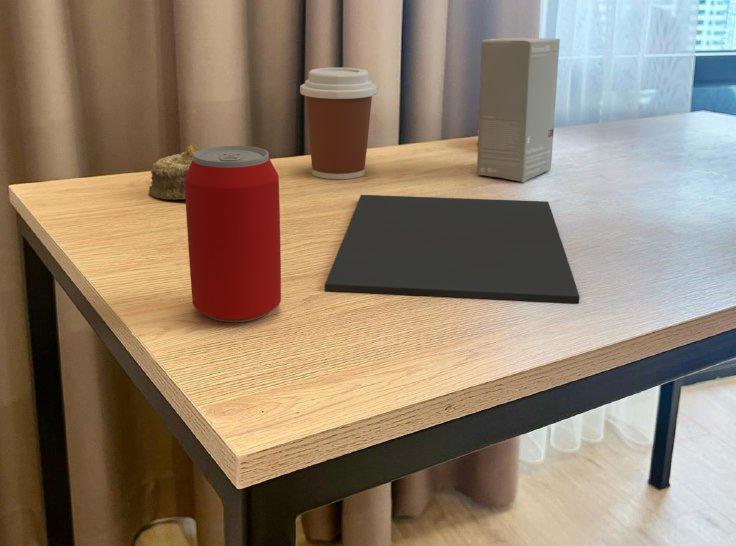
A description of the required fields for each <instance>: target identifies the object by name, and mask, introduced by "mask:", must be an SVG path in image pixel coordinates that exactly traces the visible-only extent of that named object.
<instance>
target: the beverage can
mask: <svg viewBox="0 0 736 546" xmlns="http://www.w3.org/2000/svg"><path fill="white" fill-rule="evenodd" d="M279 177H280V176H279V174H278V171H277V170H276V168H275V166H274V165H273V162H272V161H271V159H270V157H269V151H268V150H266V149H264V148H262V147H256V146H250V145H217V146H209V147H205V148H201V149H198V150H196V151H195V152H194V153H193V160H192V162H191V164H190V166H189V169H188V171H187V173H186V175H185V197H186V199H185V213H186V233H187V245H188V246H187V248H188V258H189V259H188V261H189V276H190V277H189V278H190V289H191V290H190V291H191V302H192V306H193V307H194V308H195V309H196V311H198V312H200V313H202V314H204V315H206V316H207V317H208V318H210V319H212V320H215V321H219V322H224V323H245V322H252V321H255V320H259V319H261V318H263V317H265V316H266V315H268V314H269V313H270V312H271V311H273V310H274V309H276V308H277V307H278V306H279V305H280V304H281V302H282V255H281V252H282V251H281V250H282V249H281V209H280V208H281V206H280V182H279V181H280V178H279Z"/></svg>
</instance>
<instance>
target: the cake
mask: <svg viewBox="0 0 736 546" xmlns="http://www.w3.org/2000/svg"><path fill="white" fill-rule="evenodd" d="M194 152H196V151H195V149H194V147H193V145H192V143H190V144H189V145H188V146H187V147H186V151H185V152H181V153H180V154H179V153H177V154H172V155H167V156H165V157H162V158H159V159H158V160H156V162H154V163H153V165H152V170H150V174H151V177H150V179H151V181H150V185H149V186H148V188H149V189H148V194H149V196H151V197H152V198H156V199H161V200H180V201H181V200H186V197H185V175H186V173H187V171H188V169H189V166H190V164H191V162H192V160H193V153H194Z"/></svg>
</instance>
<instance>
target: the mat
mask: <svg viewBox="0 0 736 546" xmlns="http://www.w3.org/2000/svg"><path fill="white" fill-rule="evenodd" d="M352 213H353V214H352V216H351V219H350V221H349V224H348V226H347V228H346V231H345V233H344V236H343V238H342V241H341V243H340V246H339V248H338V250H337V253H336V256H335V257H334V261H333V263H332V266H331V268H330V270H329V272H328V275H327V278H326V280H325V283H324V291H326V292H342V293H343V292H344V293H363V294H364V293H366V294H369V293H370V294H386V295H405V296H407V295H408V296H425V297H426V296H427V297H430V296H431V297H445V298H446V297H447V298H465V299H485V300H486V299H488V300H505V301H506V300H507V301H508V300H509V301H528V302H550V303H567V304H568V303H570V304H579V303H580V297H581V296H580V294H579V291H578V288H577V284H576V281H575V278H574V275H573V272H572V268H571V266H570V263H569V260H568V257H567V253H566V251H565V248H564V245H563V243H562V238H561V235H560V233H559V230H558V226H557V224H556V221H555V217H554V215H553V212H552V208H551V205H550V202H549V201H545V200H540V201H539V200H517V199H493V198H492V199H488V198H487V199H486V198H465V197H464V198H462V197H461V198H460V197H438V196H437V197H435V196H408V195H407V196H405V195H384V194H383V195H380V194H379V195H378V194H377V195H376V194H360V196H359V198H358V201H357V204H356V206H355V208H354V211H353V212H352Z"/></svg>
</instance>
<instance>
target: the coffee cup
mask: <svg viewBox="0 0 736 546" xmlns="http://www.w3.org/2000/svg"><path fill="white" fill-rule="evenodd" d="M378 89H379V87H378V86H377V85H376V84H375V83H373V81H372V79H370V72H369V71H368V70H367V69H364V68H357V67H356V68H355V67H320V68H313V69H311V70H309V71H308V79H306V80H305V81H304V83H303V84H300V86H299V93H300V94H301V95H302V96H305V105H306V117H307V126H308V129H307V130H308V140H309V148H310V150H309V151H310V161H311V174H312V176H314V177H316V178H317V177H318V178H321V179H322V178H323V179H326V180H327V179H328V180H348V179H349V180H350V179H356V178H360V177H363V176H364V175H365V174H366V161H367V150H368V139H369V129H370V120H371V111H372V110H371V109H372V100H373V96H376V95H377V94H378Z"/></svg>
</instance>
